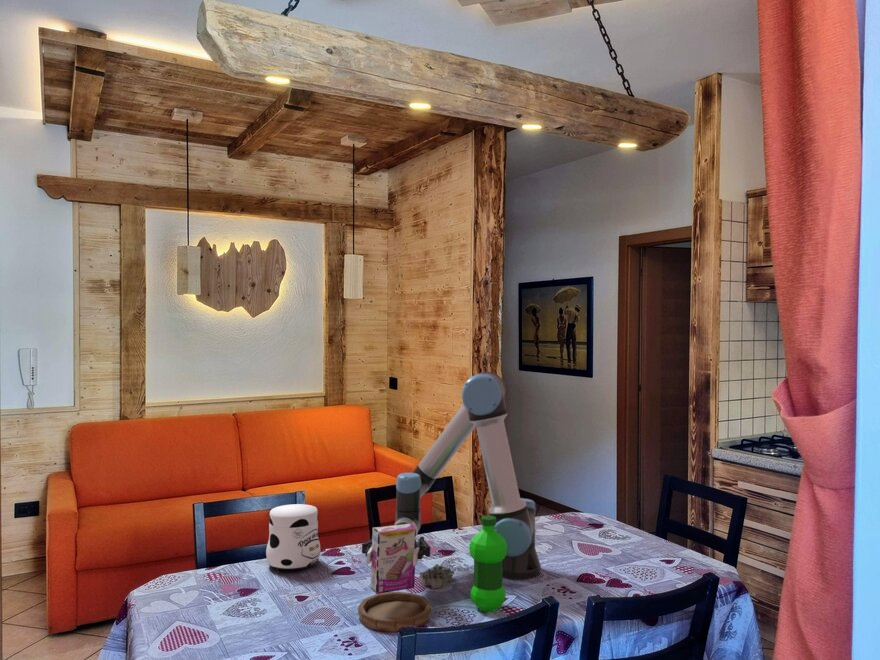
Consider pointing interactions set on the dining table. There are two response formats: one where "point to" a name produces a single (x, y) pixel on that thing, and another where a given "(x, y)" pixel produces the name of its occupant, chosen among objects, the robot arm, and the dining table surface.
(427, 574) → the egg carton
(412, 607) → the tray
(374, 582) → the candy bar box
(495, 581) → the plastic bottle
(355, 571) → the dining table surface
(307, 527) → the milk container
